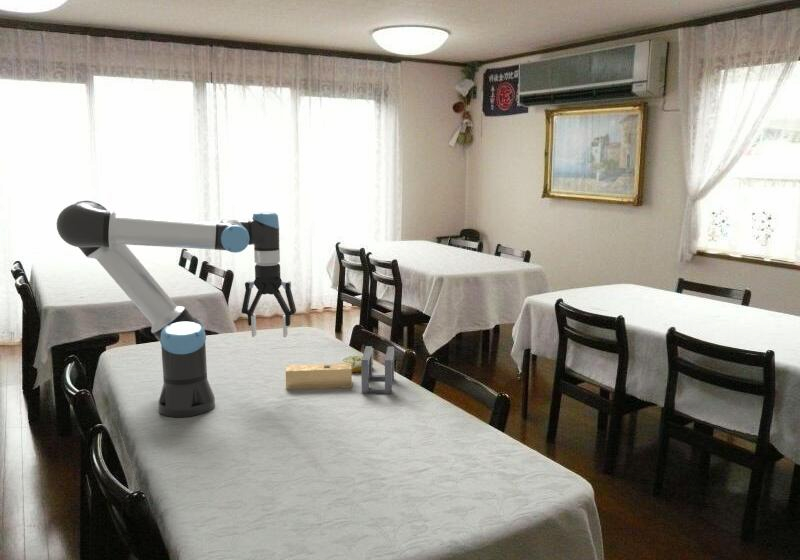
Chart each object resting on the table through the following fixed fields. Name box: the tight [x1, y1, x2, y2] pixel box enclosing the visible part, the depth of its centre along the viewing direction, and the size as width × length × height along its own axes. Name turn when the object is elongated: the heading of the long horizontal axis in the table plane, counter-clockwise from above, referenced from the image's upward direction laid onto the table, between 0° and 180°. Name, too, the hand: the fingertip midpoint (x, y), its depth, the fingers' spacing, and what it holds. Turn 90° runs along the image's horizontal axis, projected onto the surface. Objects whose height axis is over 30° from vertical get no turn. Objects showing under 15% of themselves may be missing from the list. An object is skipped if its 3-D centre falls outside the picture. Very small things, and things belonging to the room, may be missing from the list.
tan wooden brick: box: [285, 362, 353, 390], centre depth 203 cm, size 20×6×6 cm, turn 97°
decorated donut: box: [340, 354, 374, 373], centre depth 219 cm, size 10×11×4 cm
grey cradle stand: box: [360, 345, 395, 395], centre depth 202 cm, size 14×9×10 cm, turn 178°
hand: (269, 335), depth 201 cm, fingers open, 9 cm apart
